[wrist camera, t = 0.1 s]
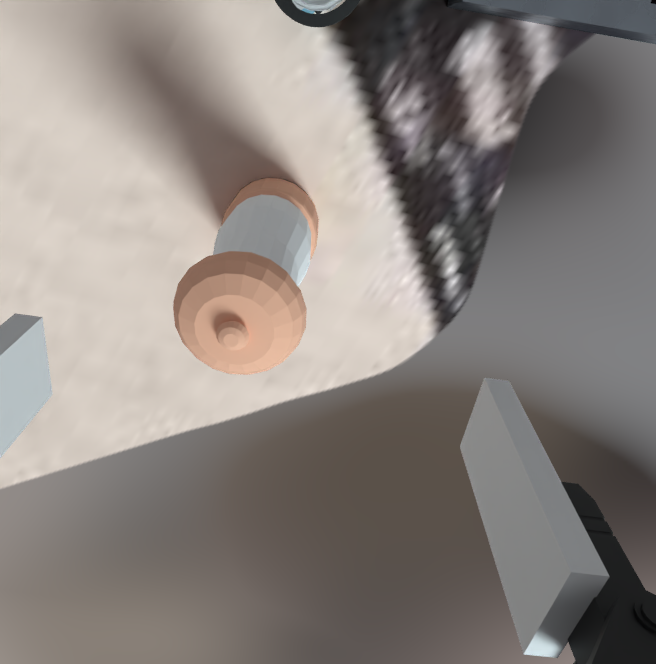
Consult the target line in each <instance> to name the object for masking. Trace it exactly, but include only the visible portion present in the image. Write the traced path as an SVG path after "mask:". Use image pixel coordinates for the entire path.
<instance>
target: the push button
mask: <svg viewBox="0 0 656 664" xmlns="http://www.w3.org/2000/svg"><path fill="white" fill-rule="evenodd" d="M341 1H342V0H275V2H276V3H277V5H278V6H279V7H280V9H281V10H282V11H283V12H284V13H285V14H286V15H287V16H289V17H290V18H291V19H293V20H294V21H296V22H298V23H300V24H303V25H306V26H310V27H325V26H330V25H333V24H335V23H337V22H339V21H341V20H342V19H344V18H345V17H347V16H348V15H349V14H350V13H351V12H352V11H353V10H354V8H355V7H356V6H357V4H358V3H359V1H360V0H346V1H345V2H344V3H343V4H342V5H340V6H339V7H338V8H336V9H335V10H333V11H331V10H332V9H333V8H334V7H335V6H336V5H337V4H339V3H340V2H341ZM328 9H330V12H328V13H324V14H320V13H321V12H322V11H324V10H328ZM314 12H316V14H313V13H314Z"/></svg>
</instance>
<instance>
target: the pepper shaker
mask: <svg viewBox="0 0 656 664" xmlns="http://www.w3.org/2000/svg"><path fill="white" fill-rule="evenodd" d="M317 235H318V216H317V212H316V209H315V205H314V204H313V202H312V201H311V199H310V198H309V196H308V195H307V193H305V192H304V191H303V190H302V189H301V188H299V187H298V186H297V185H296V184H294V183H291V182H288V181H286V180H283V179H278V178H264V179H260V180H257V181H253V182H251V183H250V184H248V185H247V186H245V187H244V188H243V189H241V190H240V192H239V193H238V194H237V196H236V197H235V199H234V200H233V201H232V203H231V204H230V206H229V207H228V209H227V210H226V212H225V214H224V217H223V221H222V224H221V227H220V229H219V231H218V234H217V238H216V241H215V246H214V252H213V255H212V256H208V257H206V258H204V259H203V260H201V261H200V262H198V263H197V264H195V265H193V266H192V267H190V268H189V270H188V271H187V272H186V274H185V275H184V277H183V278H182V279H181V281H180V282H179V283H178V287H177V291H176V295H175V298H174V307H173V308H174V319H175V327H176V329H177V331H178V333H179V335H180V337H181V340H182V342H183V343H184V345H185V346H186V347H187V348H188V349H189V350H190V351H191V352H192V353H193V355H194V356H195V357H196V358H197V359H199V360H200V361H202V362H204V363H205V364H207V365H208V366H210V367H211V368H213V369H216V370H219V371H222V372H226V373H229V374H245V375H248V374H254V373H258V372H263V371H268V370H269V369H271V368H273V367H275V366H277V365H278V364H280V363H282V362H284V360H285V359H286V358H287V357H288V356H289V355H290V354H291V353H292V352H293V351H294V350H295V348H296V347H297V346H298V344H299V342H300V340H301V337H302V335H303V333H304V330H305V328H306V306H305V303H304V300H303V296H302V293H301V290H300V289H299V285H300V283H301V282H302V280H303V278H304V277H305V275H306V272H307V269H308V267H309V264H310V260H311V258H312V256H313V253H314V251H315V248H316V244H317Z"/></svg>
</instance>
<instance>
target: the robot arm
mask: <svg viewBox="0 0 656 664" xmlns="http://www.w3.org/2000/svg"><path fill="white" fill-rule="evenodd" d="M51 396H52V387H51V379H50V372H49V364H48V356H47V349H46V341H45V334H44V326H43V318H42V317H37V316H30V315H22V314H14V315H13V316H12V317H10V318H9V319H8V320H7V321H5V322H4V323H3V324H2V325H1V326H0V458H1V457H2V455H3V454H4V453H5V452H6V450H7V449H8V448H9V447H10V446H11V444H12V443H13V442H14V441H15V440H16V438H17V437H18V436H19V435H20V433H21V432H22V431H23V430H24V429H25V427H26V426H27V425H28V424H29V422H30V421H31V420H32V419H33V418H34V416H35V415H36V414H37V413H38V411H39V410H40V409H41V408H42V407H43V405H44V404H45V403H46V402H47V401H48V399H49V398H50V397H51ZM460 448H461V452H462V455H463V458H464V461H465V465H466V468H467V471H468V475H469V478H470V481H471V484H472V488H473V491H474V494H475V498H476V501H477V504H478V507H479V511H480V514H481V517H482V520H483V524H484V527H485V530H486V533H487V536H488V540H489V543H490V546H491V550H492V553H493V556H494V559H495V563H496V566H497V569H498V572H499V575H500V579H501V582H502V585H503V589H504V592H505V595H506V598H507V602H508V605H509V608H510V612H511V615H512V618H513V621H514V625H515V628H516V631H517V634H518V638H519V641H520V644H521V647H522V651H523V654H526V655H536V656H545V657H556V658H558V657H559V655H560V653H561V652H562V650H563V649H564V647H565V646H566V644H567V643H568V642H569V644H570V647H571V650H572V652H573V655H574V657H575V660H576V661H575V662H574V664H656V595H654V594H652V593H650V592H648V591H646V590H645V588H644V587H643V585H642V583H641V581H640V579H639V578H638V576H637V574H636V573H635V571H634V569H633V567H632V565H631V564H630V562H629V560H628V558H627V557H626V555H625V553H624V551H623V550H622V548H621V546H620V544H619V542H618V541H617V539H616V537H615V536H613V532H612V530H611V529H610V527H609V525H608V523H607V522H605V521H604V516H603V514H602V513H601V511H600V509H599V507H598V506H597V504H596V502H595V500H594V499H593V498H591V496H589V494H587V492H586V491H585V490H584V489H583V488H582V487H581V486H580V485H579V484H574V483H566V482H561V481H560V479H559V477H558V475H557V473H556V472H555V469H554V467H553V465H552V464H551V462H550V460H549V458H548V456H547V454H546V452H545V450H544V448H543V446H542V444H541V442H540V440H539V438H538V436H537V434H536V433H535V431H534V429H533V427H532V425H531V423H530V421H529V419H528V417H527V415H526V413H525V411H524V409H523V407H522V405H521V403H520V401H519V399H518V398H517V396H516V394H515V392H514V390H513V388H512V386H511V384H510V382H509V381H505V380H498V379H490V378H484V380H483V383H482V386H481V389H480V392H479V395H478V397H477V400H476V403H475V406H474V409H473V411H472V414H471V417H470V420H469V423H468V425H467V428H466V431H465V434H464V437H463V439H462V442H461V445H460Z"/></svg>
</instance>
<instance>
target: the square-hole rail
mask: <svg viewBox="0 0 656 664" xmlns="http://www.w3.org/2000/svg"><path fill="white" fill-rule="evenodd" d="M447 7H449V8H455V9H460V10H466V11H472V12H477V13H483V14H488V15H494V16H500V17H505V18H511V19H517V20H522V21H528V22H534V23H539V24H545V25H551V26H556V27H562V28H567V29H573V30H579V31H584V32H590V33H596V34H601V35H607V36H613V37H619V38H624V39H630V40H636V41H641V42H646V43H652V44H656V4H652V3H651V0H448V3H447Z"/></svg>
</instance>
